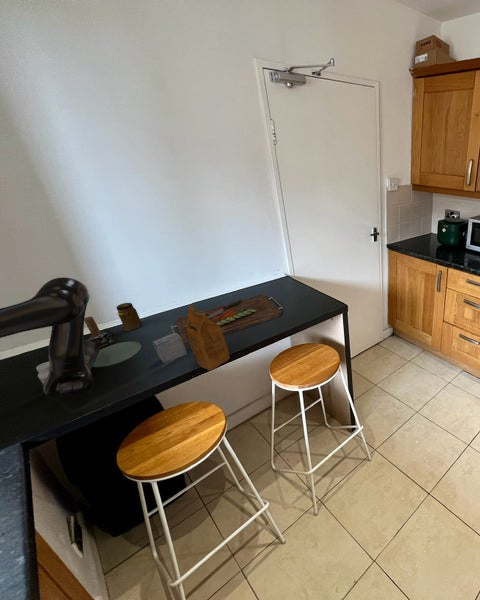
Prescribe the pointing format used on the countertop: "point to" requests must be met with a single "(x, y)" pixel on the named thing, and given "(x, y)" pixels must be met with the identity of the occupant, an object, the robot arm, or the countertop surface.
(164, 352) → the medicine box
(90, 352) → the robot arm
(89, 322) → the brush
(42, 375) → the supplement bottle
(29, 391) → the countertop surface
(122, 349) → the turntable plate
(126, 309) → the condiment
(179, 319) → the chopping board
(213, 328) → the coffee package
